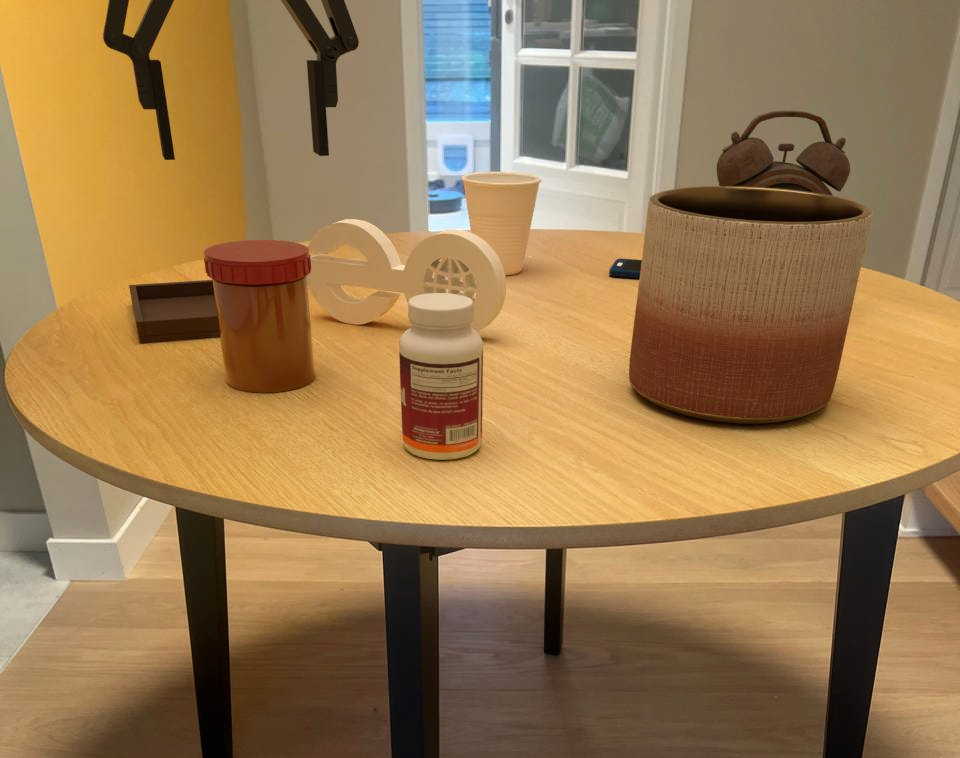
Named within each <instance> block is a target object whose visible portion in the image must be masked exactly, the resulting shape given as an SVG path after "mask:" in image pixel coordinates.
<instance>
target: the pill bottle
mask: <svg viewBox="0 0 960 758" xmlns="http://www.w3.org/2000/svg"><path fill="white" fill-rule="evenodd" d="M473 318H474V306H473V300H472V299H470V298H469V297H466V296H462V295H457V294H449V293H448V292H447V293H429V294H422V295H417V296H414V297H412V298H410V299H409V301H408V302H407V319H408V322H409V323H410V324H411V327H409V328H408V329H406V330H405V331H404V332H403V333H402V334H401V336H400V339H399V343H398V345H399V346H398V355H399V384H400V385H399V388H400V393H399V394H400V409H401V411H400V412H401V413H400V414H401V436H402V437H401V438H402V443H403V446H404V448H405V449H406V451H408V452H409V453H410V454H412V455H414V456H416V457H419V458H423V459H429V460H438V461H439V460H440V461H441V460H442V461H444V460H445V461H447V460H448V461H449V460H457V459H461V458H465V457H468V456H471V455H472V454H474V453H475V452H476V451H478V449H479V448H480V447H481V445H482V441H483V440H482V439H483V397H484V395H483V394H484V393H483V392H484V391H483V390H484V386H483V385H484V343H483V342H484V341H483V339H482V337H481V335H480V334H479V332H477V331H475V330H474V329H473V328H471V327H470V324H471V323H472V321H473Z"/></svg>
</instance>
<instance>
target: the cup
mask: <svg viewBox="0 0 960 758" xmlns="http://www.w3.org/2000/svg"><path fill="white" fill-rule="evenodd" d="M542 180H543V179H542V177H541V176H539V175H535V174H531V173H526V172H516V171H514V172H513V171H479V172H477V171H476V172H470V173H466V174H464V175H462V176H461V181H462V182H463V187H464V194H465V203H466V209H467V215H468V220H469V221H468V223H469V228H470V231H469V232H470V233H473V234H475V235H477V236H478V237H480V238H482V239H483V240H484V241H486V242H487V243H488V244H489V245H490V247H491V248H492V249H493V250H494V252H495V253H496V254H497V256H498V257H499V259H500V261H501V264H502V266H503V269H504V272H505V276H512V275H516V274H519V273H520V272H521V271H522V270H523V268H524V264H525V259H526V254H527V248H528V242H529V238H530V232H531V227H532V221H533V217H534V212H535V207H536V202H537V196H538V192H539V187H540V183H542Z"/></svg>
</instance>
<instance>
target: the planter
mask: <svg viewBox="0 0 960 758" xmlns="http://www.w3.org/2000/svg"><path fill="white" fill-rule="evenodd" d="M873 215H874V214H873V210H872V209H871V208H869V207H868V206H867V205H865V204H864V203H863V204H862V203H861V202H858V201H855V200H851V199H849V198H845V197H840V196H837V195H833V196H831V195H826V194H820V193H814V192H807V191H799V190H789V189H779V188H765V187H746V186H719V185H705V186H704V185H703V186H688V187H679V188H672V189H668V190H663V191H660V192H657V193H655V194H653V195H651V196H649V198H648V203H647V212H646V220H645V221H646V222H645V230H644V237H643V247H642V254H641V255H642V256H641V260H642V263H641V271H640V278H638V279H639V281H638V287H637V288H638V289H637V296H636V304H635V312H634V320H633V328H632V336H631V344H630V355H629V365H628V379H629V382H630V385H631V386H632V388H634V390H635V391H636V392H637V393H638V394H639V395H640V396H641V397H643V398H644V399H646V400H648V401H649V402H650V403H652V404H655V405H656V406H658V407H661V408H663V409H665V410H667V411H671V412H674V413H676V414H679V415H683V416H687V417H691V418H695V419H701V420H704V421H705V420H706V421H711V422H718V423H728V424H731V423H732V424H742V425H743V424H745V425H750V424H751V425H755V424H756V425H757V424H773V423H781V422H787V421H793V420H796V419H800V418H804V417H806V416H808V415H811V414H813V413H815V412H817V411H819V410H820V409H822V408H824V407H825V406H826V405H827V404H828V403H829V402H830V400H831V398H832V396H833V393H834V389H835V387H836V383H837V379H838V374H839V370H840V365H841V361H842V357H843V351H844V347H845V342H846V337H847V333H848V328H849V324H850V318H851V315H852V309H853V305H854V300H855V297H856V296H855V295H856V292H857V287H858V281H859V278H860V274H861V273H860V272H861V268H862V265H863V260H864V255H865V251H866V246H867V241H868V237H869V234H870V229H871V224H872V219H873Z"/></svg>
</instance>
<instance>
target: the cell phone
mask: <svg viewBox="0 0 960 758" xmlns="http://www.w3.org/2000/svg"><path fill="white" fill-rule="evenodd" d="M641 263H642V259H636V258H635V259H634V258H623V257H622V258H616V260H614V262H613V264H612V265H611V266H610V268H609V271H608V274H609V276H611V277H617V278H618V277H619V278H631V279H640V271H641Z"/></svg>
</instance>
